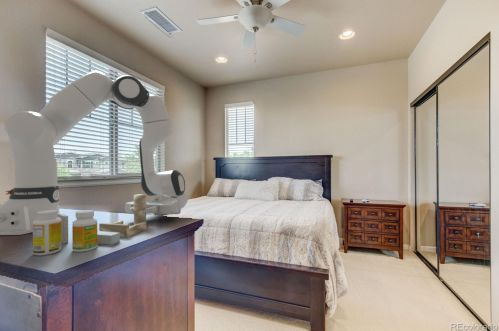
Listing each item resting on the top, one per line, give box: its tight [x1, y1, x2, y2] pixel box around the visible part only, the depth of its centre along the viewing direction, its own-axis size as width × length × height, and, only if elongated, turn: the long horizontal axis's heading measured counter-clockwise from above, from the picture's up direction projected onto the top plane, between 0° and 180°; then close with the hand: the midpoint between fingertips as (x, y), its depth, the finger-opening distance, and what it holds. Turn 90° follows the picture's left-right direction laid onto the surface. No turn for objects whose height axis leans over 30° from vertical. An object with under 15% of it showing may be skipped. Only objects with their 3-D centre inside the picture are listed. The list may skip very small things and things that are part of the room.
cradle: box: [98, 220, 147, 238], centre depth 80 cm, size 9×10×4 cm
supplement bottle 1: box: [32, 210, 63, 257], centre depth 62 cm, size 6×6×10 cm
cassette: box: [57, 212, 69, 245], centre depth 72 cm, size 12×2×8 cm, turn 54°
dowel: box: [133, 193, 147, 225], centre depth 88 cm, size 4×4×11 cm
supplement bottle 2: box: [71, 209, 98, 253], centre depth 64 cm, size 5×5×10 cm
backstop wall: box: [97, 230, 121, 246], centre depth 70 cm, size 3×12×2 cm, turn 76°
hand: (138, 210), depth 87 cm, fingers closed on dowel, 4 cm apart
